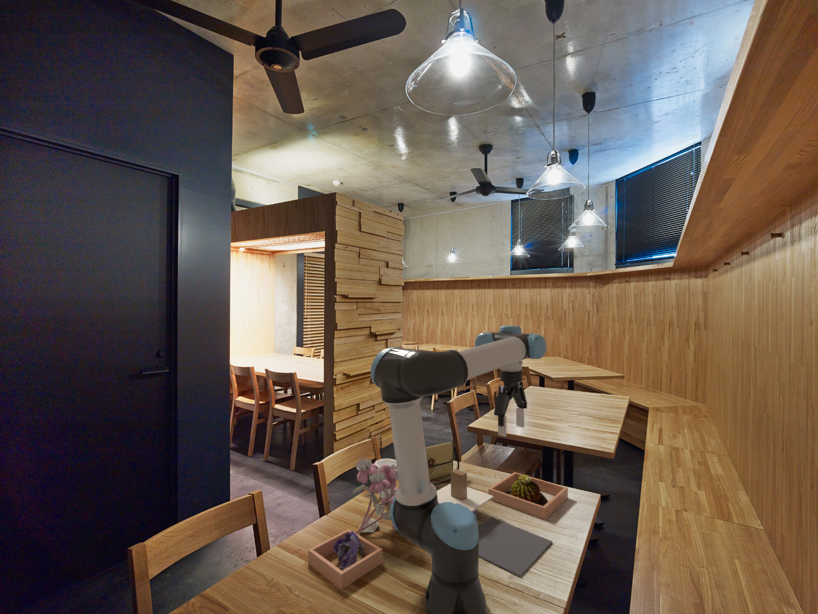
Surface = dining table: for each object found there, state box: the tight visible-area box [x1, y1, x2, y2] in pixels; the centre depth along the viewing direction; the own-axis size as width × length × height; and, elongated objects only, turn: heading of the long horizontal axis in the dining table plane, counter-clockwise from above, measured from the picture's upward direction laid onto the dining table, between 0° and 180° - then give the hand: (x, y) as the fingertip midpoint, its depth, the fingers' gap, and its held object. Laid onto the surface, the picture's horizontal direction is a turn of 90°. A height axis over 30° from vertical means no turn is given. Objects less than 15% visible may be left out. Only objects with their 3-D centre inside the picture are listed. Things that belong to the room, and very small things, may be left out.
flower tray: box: [307, 528, 383, 590], centre depth 113 cm, size 15×16×4 cm
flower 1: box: [333, 530, 364, 570], centre depth 114 cm, size 9×9×10 cm
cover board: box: [437, 468, 493, 512], centre depth 140 cm, size 18×18×10 cm
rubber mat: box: [478, 516, 553, 578], centre depth 122 cm, size 22×22×1 cm
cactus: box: [505, 473, 549, 506], centre depth 151 cm, size 17×16×10 cm
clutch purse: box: [425, 441, 460, 486], centre depth 168 cm, size 30×7×15 cm, turn 121°
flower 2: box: [352, 456, 399, 535], centre depth 129 cm, size 20×22×25 cm
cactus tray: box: [487, 471, 569, 520], centre depth 152 cm, size 22×23×4 cm
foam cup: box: [374, 458, 397, 499], centre depth 156 cm, size 10×9×13 cm
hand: (511, 431), depth 133 cm, fingers open, 13 cm apart
